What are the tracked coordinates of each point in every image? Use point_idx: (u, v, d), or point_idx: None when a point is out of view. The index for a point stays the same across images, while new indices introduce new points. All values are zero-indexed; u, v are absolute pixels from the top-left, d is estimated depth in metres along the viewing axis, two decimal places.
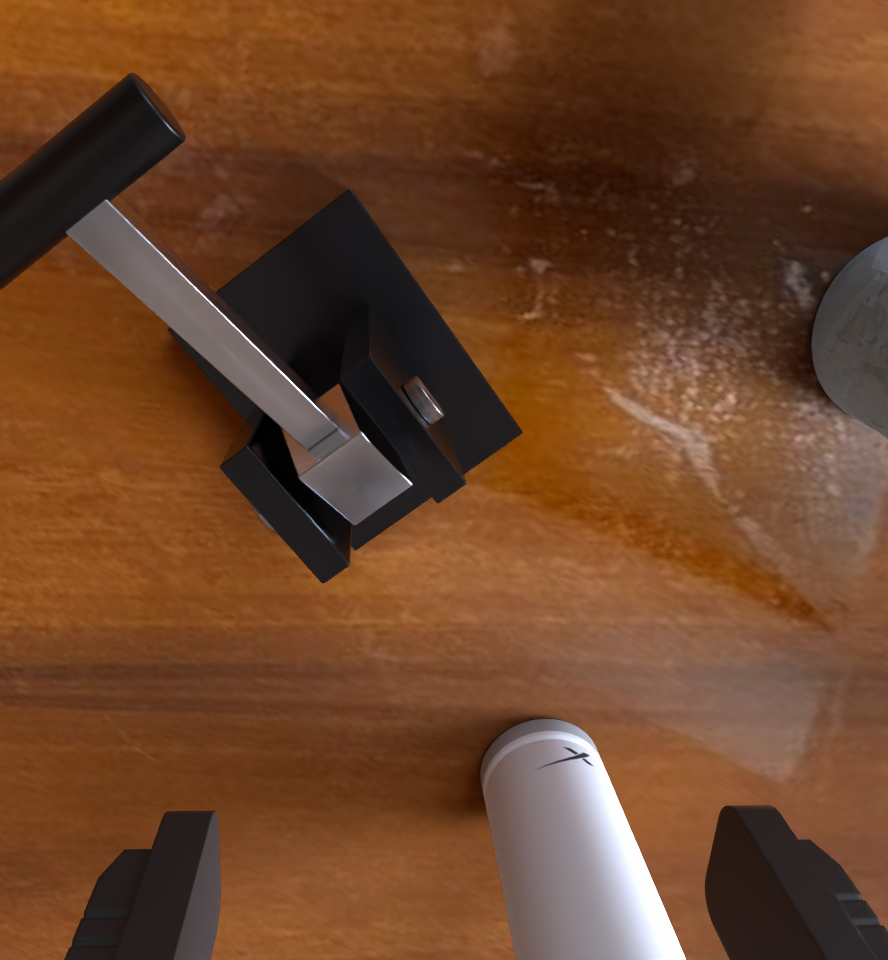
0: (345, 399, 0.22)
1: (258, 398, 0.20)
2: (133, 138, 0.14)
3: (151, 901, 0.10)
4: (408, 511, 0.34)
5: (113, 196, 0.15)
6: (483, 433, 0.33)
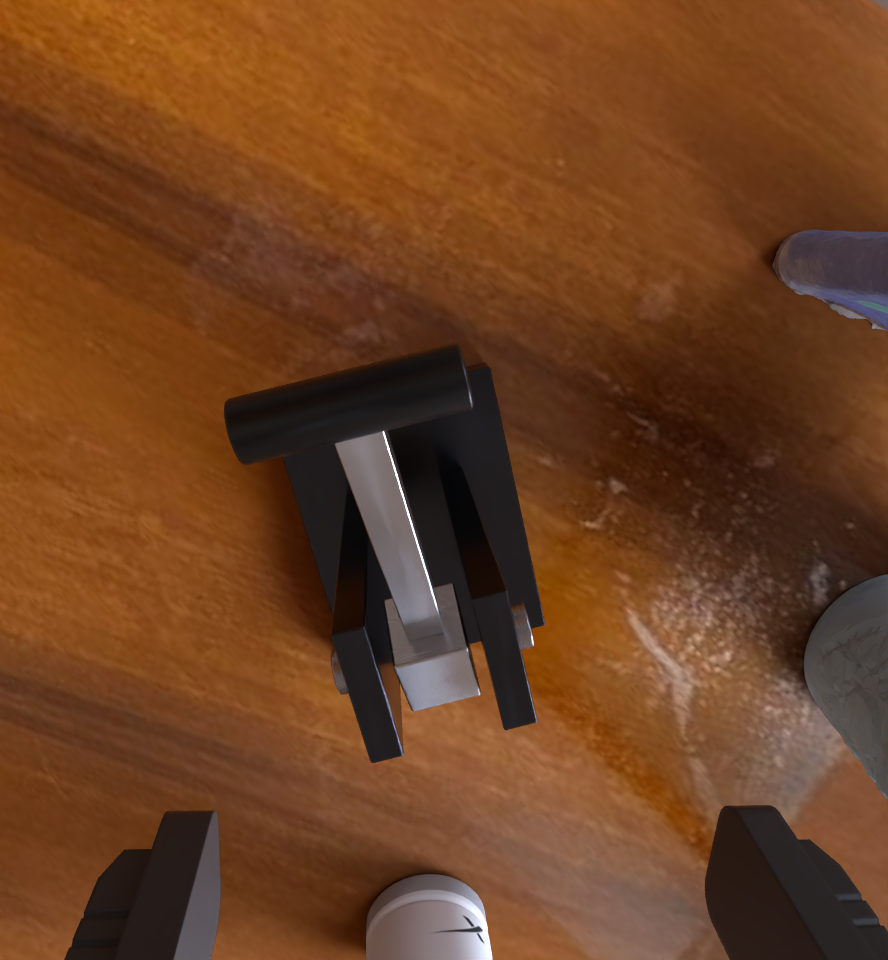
0: (456, 604, 0.23)
1: (398, 595, 0.20)
2: (439, 403, 0.16)
3: (151, 901, 0.10)
4: None
5: (389, 429, 0.16)
6: None
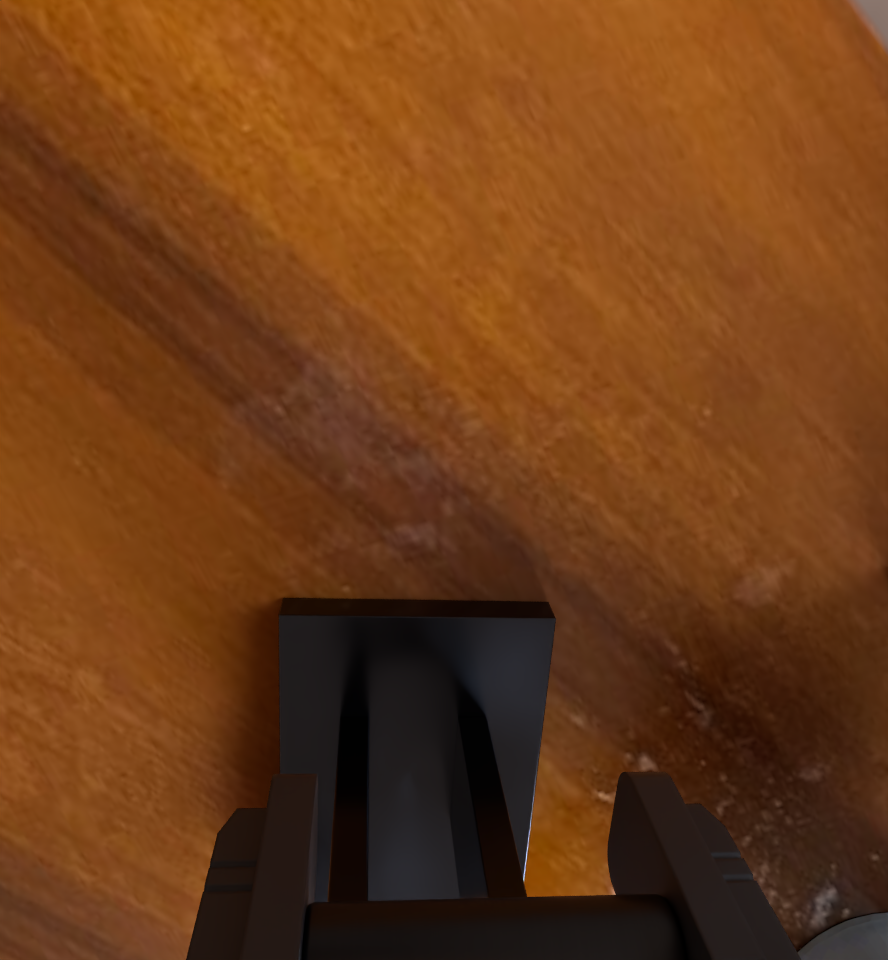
0: None
1: None
2: None
3: (275, 851, 0.11)
4: None
5: None
6: None
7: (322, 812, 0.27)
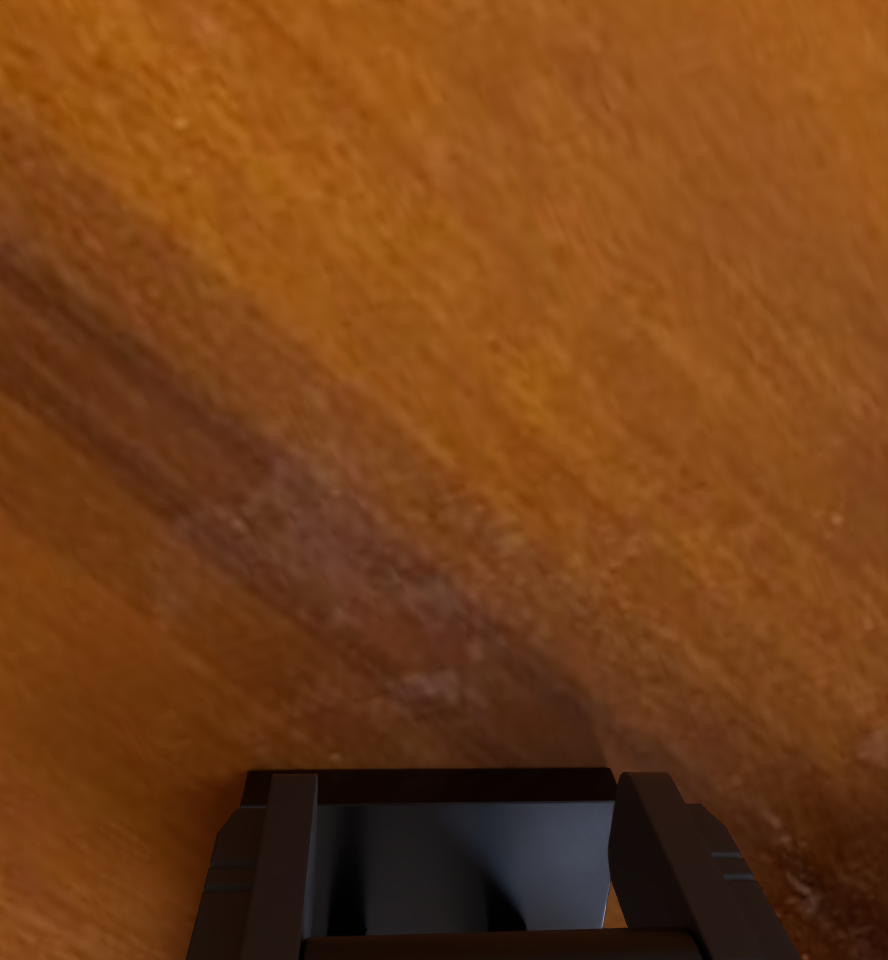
0: None
1: None
2: None
3: (274, 851, 0.11)
4: None
5: None
6: None
7: None
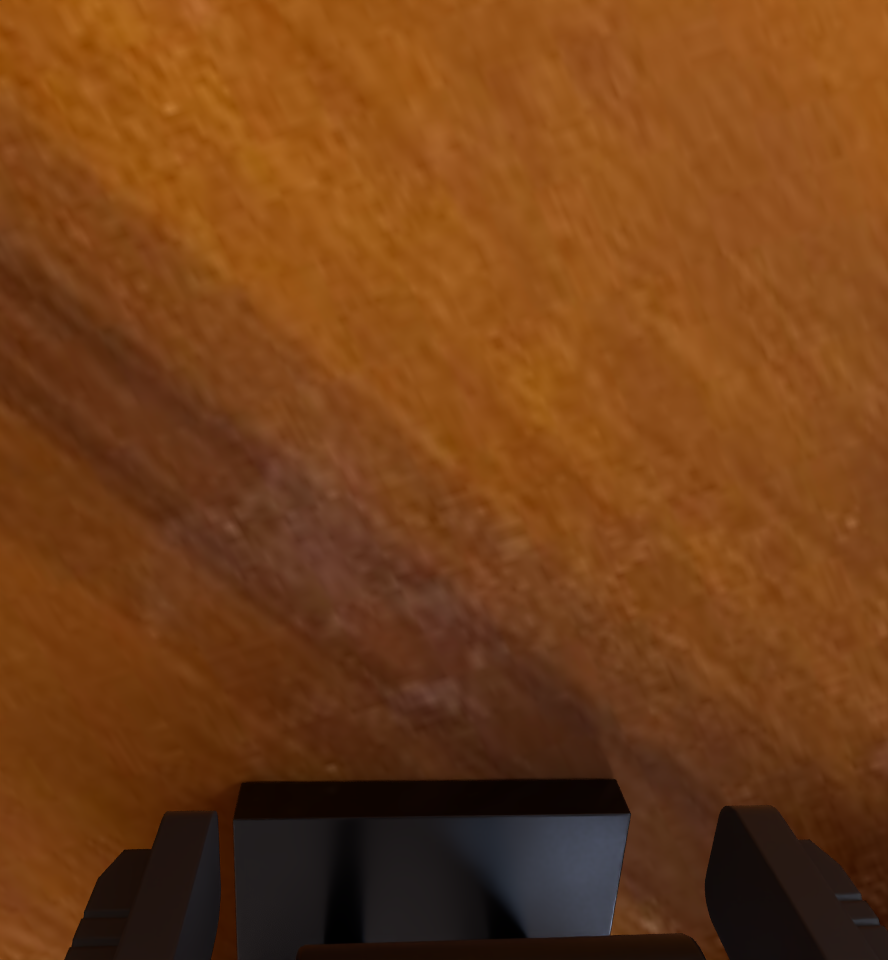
0: None
1: None
2: None
3: (151, 901, 0.10)
4: None
5: None
6: None
7: None
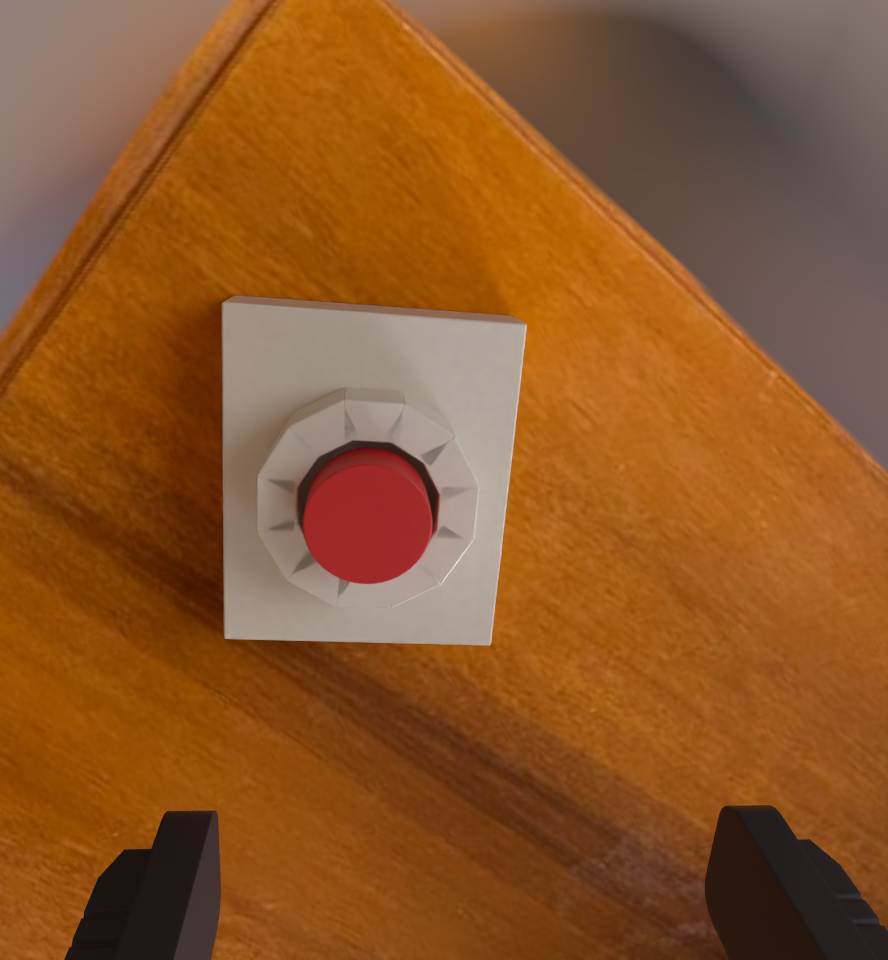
0: None
1: None
2: None
3: (151, 901, 0.10)
4: None
5: None
6: None
7: None
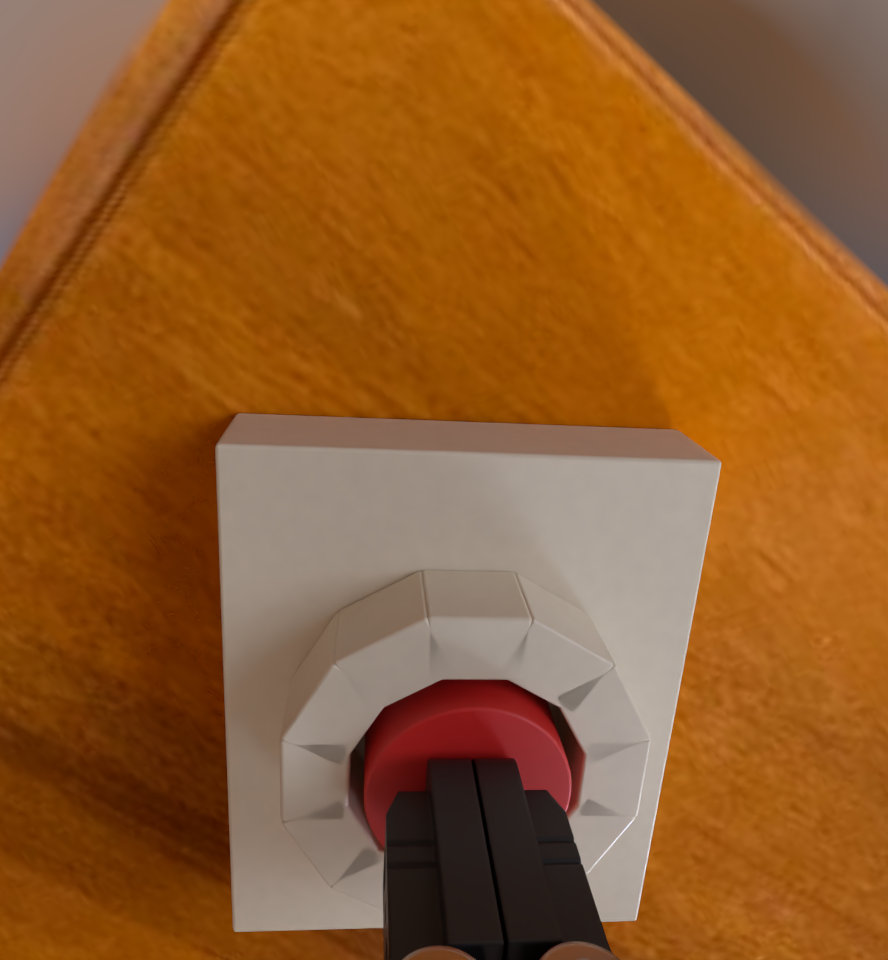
0: None
1: None
2: None
3: (452, 830, 0.11)
4: None
5: None
6: None
7: None
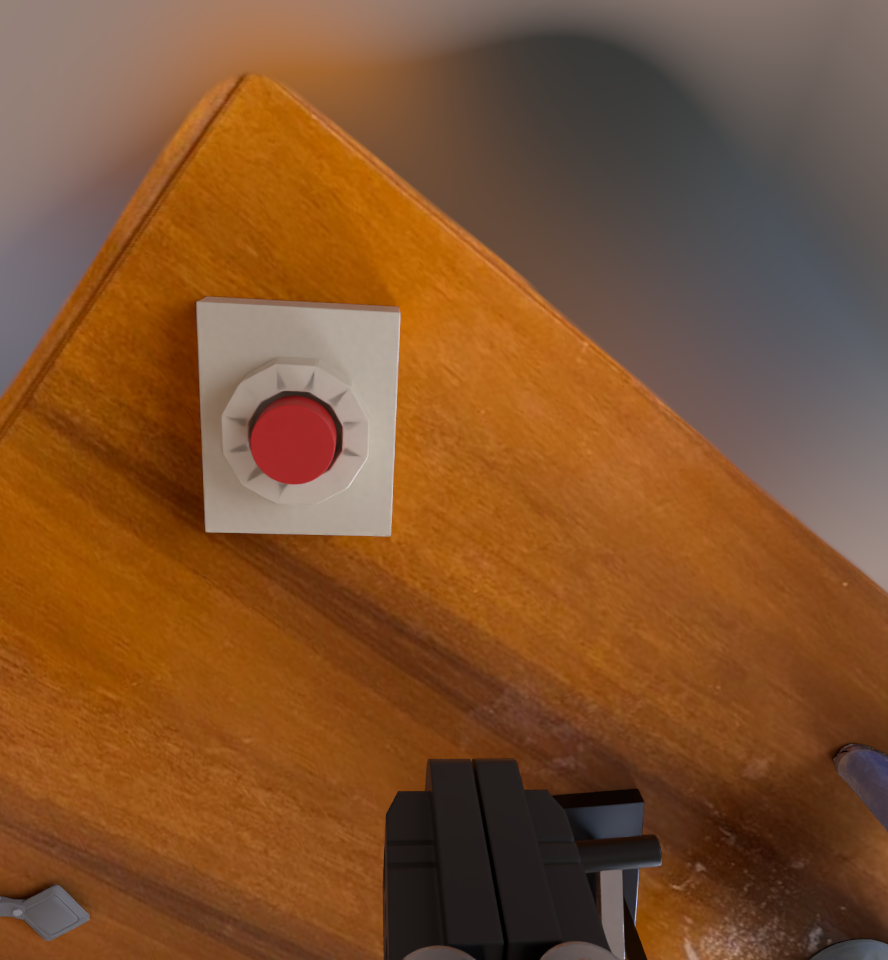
0: None
1: None
2: (648, 858, 0.38)
3: (452, 830, 0.11)
4: None
5: None
6: None
7: None
